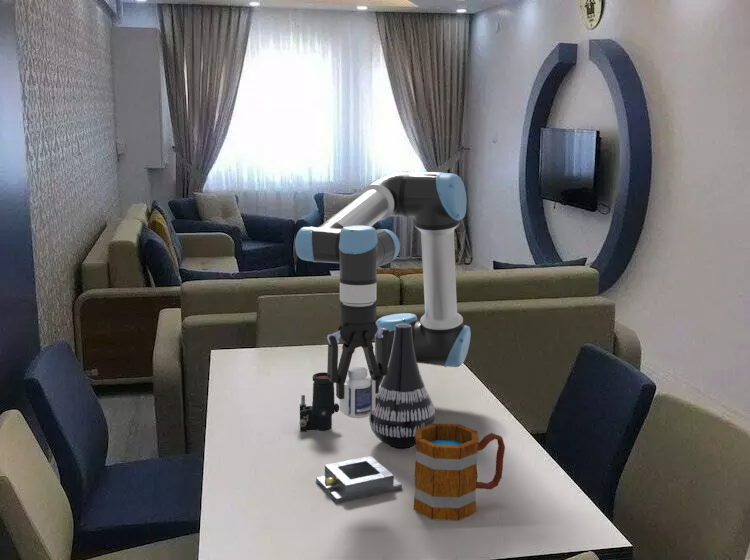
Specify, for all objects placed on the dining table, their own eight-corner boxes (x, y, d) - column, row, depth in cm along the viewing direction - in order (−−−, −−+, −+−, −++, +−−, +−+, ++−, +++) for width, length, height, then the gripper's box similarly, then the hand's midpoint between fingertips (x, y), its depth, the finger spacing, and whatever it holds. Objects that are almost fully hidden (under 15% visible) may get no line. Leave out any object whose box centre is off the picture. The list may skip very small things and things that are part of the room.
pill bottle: (374, 411, 168) (374, 367, 167) (365, 420, 163) (365, 374, 162) (350, 408, 170) (350, 364, 168) (340, 416, 165) (341, 371, 163)
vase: (388, 462, 182) (389, 337, 176) (357, 438, 195) (357, 321, 190) (447, 449, 189) (450, 329, 183) (413, 427, 203) (415, 314, 197)
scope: (299, 371, 203) (338, 370, 204) (299, 422, 205) (338, 421, 206) (298, 381, 195) (339, 380, 196) (299, 434, 197) (339, 433, 198)
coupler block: (378, 469, 178) (378, 454, 177) (401, 489, 168) (402, 473, 168) (316, 481, 171) (316, 466, 171) (336, 503, 162) (336, 487, 161)
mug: (426, 525, 153) (427, 452, 150) (401, 495, 165) (402, 426, 163) (517, 511, 159) (520, 440, 156) (487, 482, 172) (489, 416, 169)
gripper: (389, 295, 170) (388, 399, 174) (309, 302, 162) (310, 411, 166) (406, 302, 163) (404, 409, 167) (323, 310, 155) (323, 423, 159)
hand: (357, 410), depth 167 cm, fingers closed on pill bottle, 5 cm apart
